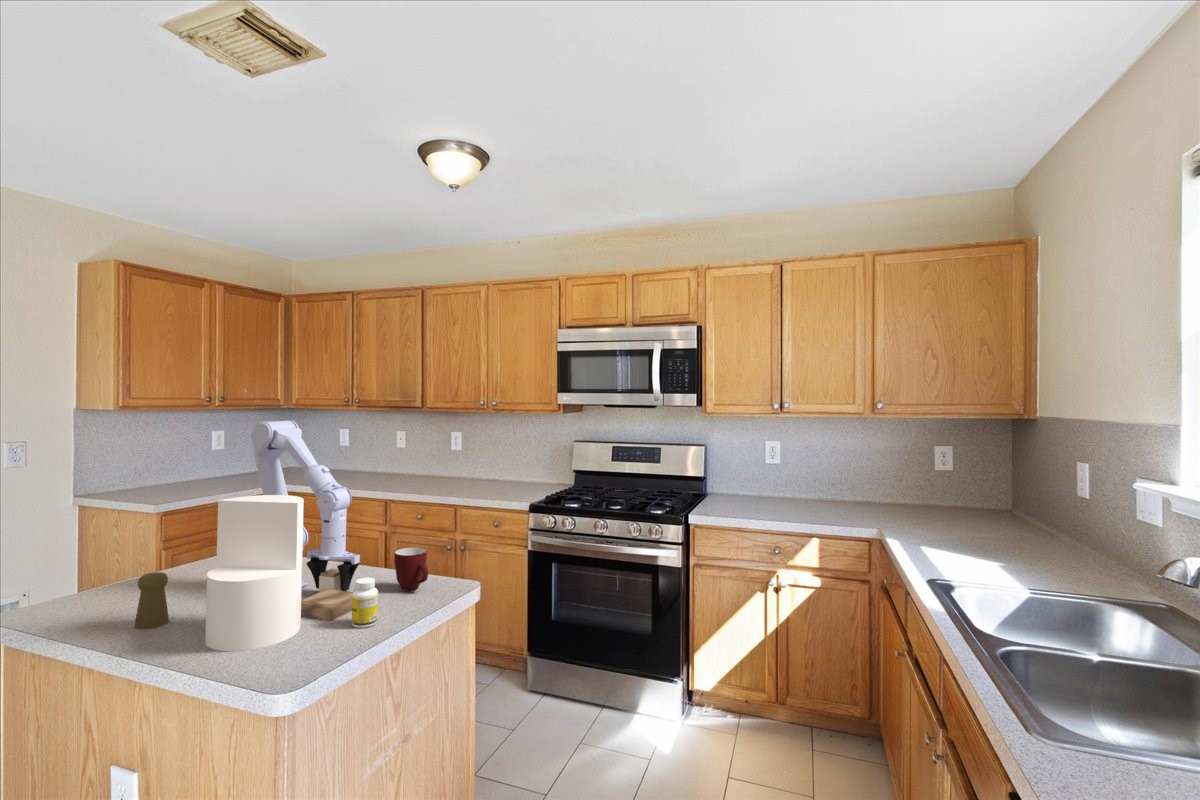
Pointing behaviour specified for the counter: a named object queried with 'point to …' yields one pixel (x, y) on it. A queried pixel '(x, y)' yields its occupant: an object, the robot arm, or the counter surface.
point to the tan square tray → (327, 604)
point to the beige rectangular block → (329, 580)
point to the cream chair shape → (255, 573)
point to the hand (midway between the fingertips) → (332, 589)
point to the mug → (411, 567)
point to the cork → (152, 601)
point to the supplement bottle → (365, 603)
